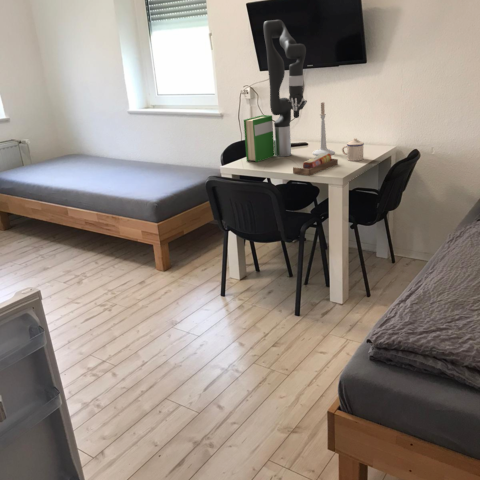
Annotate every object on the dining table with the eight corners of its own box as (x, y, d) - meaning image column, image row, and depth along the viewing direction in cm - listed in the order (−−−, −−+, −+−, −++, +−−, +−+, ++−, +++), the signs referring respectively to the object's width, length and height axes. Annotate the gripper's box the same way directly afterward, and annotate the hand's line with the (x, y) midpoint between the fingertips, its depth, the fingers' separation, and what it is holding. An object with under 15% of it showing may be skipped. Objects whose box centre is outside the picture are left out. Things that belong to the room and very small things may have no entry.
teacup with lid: (365, 158, 288) (366, 137, 283) (360, 161, 280) (360, 140, 276) (345, 157, 293) (345, 136, 289) (339, 160, 286) (339, 139, 282)
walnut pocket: (293, 173, 267) (292, 167, 266) (321, 162, 285) (321, 157, 284) (309, 175, 261) (309, 169, 260) (337, 164, 278) (337, 159, 277)
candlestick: (333, 150, 312) (333, 99, 302) (335, 155, 301) (334, 102, 290) (312, 152, 314) (310, 101, 303) (313, 156, 302) (311, 103, 292)
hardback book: (256, 162, 299) (253, 120, 290) (246, 161, 303) (243, 119, 295) (274, 155, 312) (272, 115, 303) (264, 155, 316) (261, 115, 308)
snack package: (313, 174, 264) (313, 160, 261) (301, 173, 268) (301, 160, 265) (332, 164, 280) (331, 152, 277) (321, 164, 283) (320, 151, 281)
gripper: (281, 84, 275) (282, 117, 281) (301, 85, 266) (302, 119, 273) (290, 83, 280) (291, 115, 286) (310, 84, 271) (310, 117, 278)
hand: (296, 117), depth 279 cm, fingers closed
